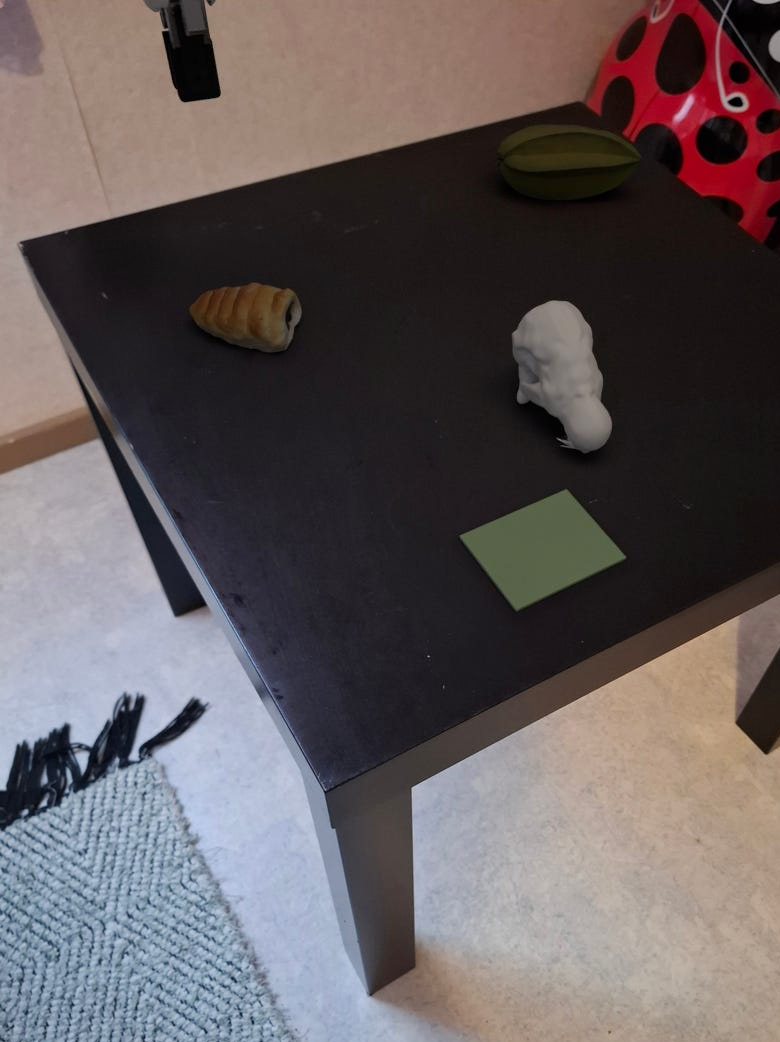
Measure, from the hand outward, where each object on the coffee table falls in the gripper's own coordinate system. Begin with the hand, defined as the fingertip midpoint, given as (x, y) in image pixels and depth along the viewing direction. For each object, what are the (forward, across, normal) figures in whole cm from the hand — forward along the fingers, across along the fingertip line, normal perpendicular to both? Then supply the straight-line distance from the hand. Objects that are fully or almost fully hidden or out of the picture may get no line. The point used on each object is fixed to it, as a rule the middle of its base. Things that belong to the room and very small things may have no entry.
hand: (197, 91), depth 71 cm
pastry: (+17, +7, 0) cm, 19 cm away
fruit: (+17, -5, +36) cm, 41 cm away
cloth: (+17, +39, +14) cm, 45 cm away
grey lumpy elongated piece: (+17, +27, +22) cm, 38 cm away
